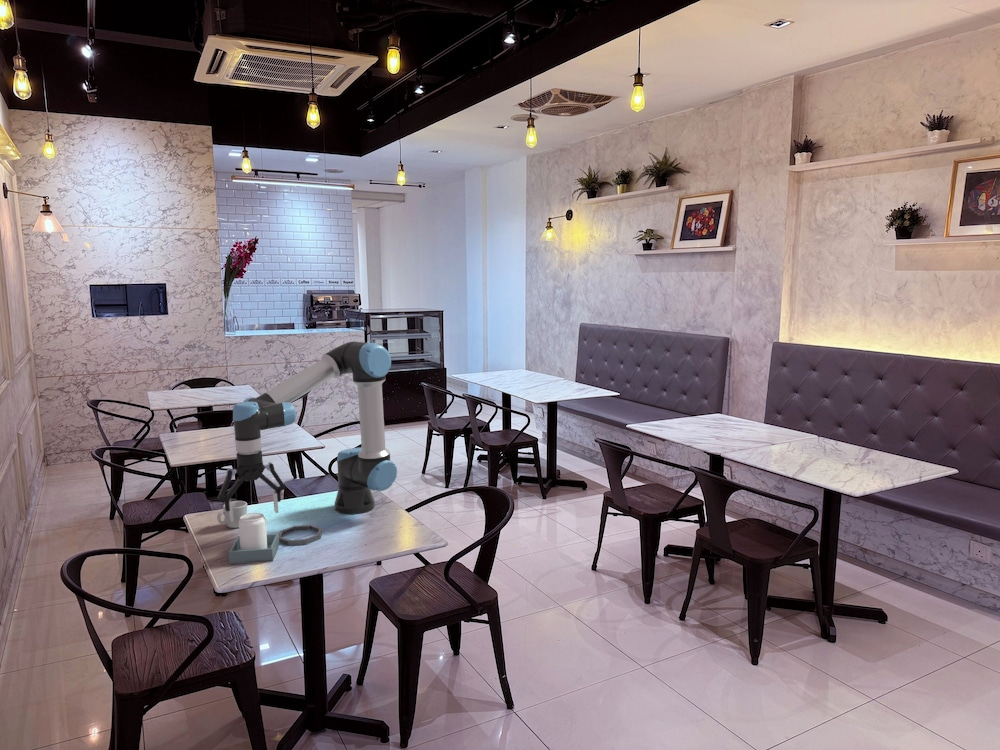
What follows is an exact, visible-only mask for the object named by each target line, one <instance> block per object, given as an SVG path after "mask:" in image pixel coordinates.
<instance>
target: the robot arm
mask: <svg viewBox="0 0 1000 750" xmlns="http://www.w3.org/2000/svg"><path fill="white" fill-rule="evenodd" d="M391 366H392V359H391V355H390V353H389V351H388V349H386V347H384V346H383V345H381V344H378V343H373V342H363V341H348V342H344V343H343V344H341V345H339V346H337V347H335V348H332V349H331V350H329V351H328V352H326V353H324V354H322V355H321V359H320V360H318V361H316V362H315V363H313V364H311V365H310V366H307V368H304V369H303V370H301V371H300V372H298V373H296V374H295V375H293V376H291V377H289V378H288V379H286V380H284V381H283V382H281V383H279V384H278V385H275V386H274V387H273V388H271V389H269V390H267V391H265V392H264V393H262V394H260V395H258V396H257V397H249V398H245V399H244V400H243V401H241V402H237V403H235V404H234V405H233V407H232V420H233V427H234V437H235V438H234V439H235V451H236V455H235V456H236V464H237V466H236V468H232V469H231V468H227V469H226V476H225V479H224V480H223V483H222V486H221V488H220V491H219V493H218V494H217V500H218V501H219V502H224V504H225V509H226V511H229V516H230V521H231V522H232V521H234V520H233V509H232V501H233V500H232V499H231V498H232V497H233V496H234V494H235V493H236V492H237V490H238V489H239V488H240V486H241V485H242V484H243V483H244V482H250V481H257V480H258V479H261V480H262V481H263V482H264V483H266V484H267V485H268V486H269V487H270V488H272V489H273V491H272V496H273V509H274V510H273V511H274V512H275V514H279V502H281V501H282V499H281V498H282V497H281V492H282V491H284V490H286V489H287V486H286V485H285V484H284V482H283V480H282V479H281V478H280V476H279V474H278V473H277V472H276V470H275V465H274V464H273V462H271V461H269V462H268V463H265V464H264V462H263V451H262V438H261V436H262V435H261V431H265V430H271V429H277V428H281V427H286V426H289V425H292V424H294V423H295V421H296V419H297V412H296V409H295V406H294V405H293V402H294V401H297V400H298V399H299V398H301V397H303V396H304V395H306V394H307V393H309V392H311V391H312V390H314V389H315V388H317V387H319V386H320V385H322V384H324V383H325V382H327V381H329V380H330V379H332V378H334V379H337V378H339V377H341V376H343V375H346V374H352V382H353V383H354V384H355V385H356V386H357V394H358V396H357V397H358V398H357V399H358V411H359V413H358V415H359V426H360V430H359V431H360V441H361V447H353V448H352V447H351V448H347V449H343V450H341V451H339V452H338V453H337V459H336V464H337V480H338V481H337V482H338V490H337V494H336V497H335V500H334V510H335V511H336V512H337V513H340V514H346V515H348V514H349V515H357V514H361V513H366V512H367V513H368V512H370V511H371V510H373V509H374V508H375V507H376V505H375V502H376V501H375V498H374V495H373V492H372V491H377V492H383V491H385V490H388V489H389V488H390V487H392V485H393V483H395V482H396V479H397V476H398V467H397V465H396V464H395V463H394V461H391V451H390V450H389V449H388V448H386V437H385V436H386V433H385V420H384V417H385V416H384V402H383V401H384V399H383V383H384V382H385V381H386V379H387V378H386V375H387V374H388V373H389V370H390V369H391ZM265 469H266V470H267V471H268V472H270V473H271V474H272V476H273V478H274V479H275V481H276V482H277V483H278V485H279V486H277V485H276V483H274V482H273V481H272V480H270V478H268V477H267V476H265V475H264V474H263V472H264V471H265ZM236 474H237V475H238V477H237V479H236V480H235V481H234V483H233V484H232V486H231V487H230V489H229V485H230V484H231V481H232V478H233V477H234V476H235V475H236ZM228 489H229V490H228ZM227 490H228V491H227Z"/></svg>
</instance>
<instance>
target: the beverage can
mask: <svg viewBox="0 0 1000 750" xmlns="http://www.w3.org/2000/svg"><path fill="white" fill-rule="evenodd" d="M266 519H267V518H266V517H265V515H264V514H263V513H261V512H251V513H247V514H245V515H243V516H241V517H240V520H239V527H238V536H239V537H240V550H252V549H267V534H268V533H267V520H266Z"/></svg>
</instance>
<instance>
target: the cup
mask: <svg viewBox="0 0 1000 750" xmlns="http://www.w3.org/2000/svg"><path fill="white" fill-rule="evenodd" d="M231 501H232V509H233V520H234V521H232V522H231V521H230V516H229V511H226V509H225V503H224V504H223V507H222V510H221V511H219V512H218V514H217V517H216V518H217V522H218V523H219V524H221V525H226V526H227V527H228V528H230V529H236V528H238V529H239V520H240V517H241V516H243V515H245V514H248V512H247V511H248V503H247V502H246V501H244V500H231ZM222 515H223V516H224V519H223V521H222V520H221V517H222Z"/></svg>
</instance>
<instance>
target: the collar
mask: <svg viewBox="0 0 1000 750" xmlns="http://www.w3.org/2000/svg"><path fill="white" fill-rule="evenodd" d="M299 531H300V532H301V531H311V532H314V533H317V534H315V535H312V536H310V537H307V538H302V539H301V538H300V539H288V538H286V537H284V536H285V535H288V534H291V533H293V532H299ZM278 534H279V544H284V545H286V546H301V545H302V546H304V545H308V544H312V543H314V542H316V541H319V540H321V538H322V535H323V528H322V527H319V526H316V525H314V524H306V525H305V524H302V525H292V526H291V527H287V528H285V529H283V530H280V531H279V533H278Z"/></svg>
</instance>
